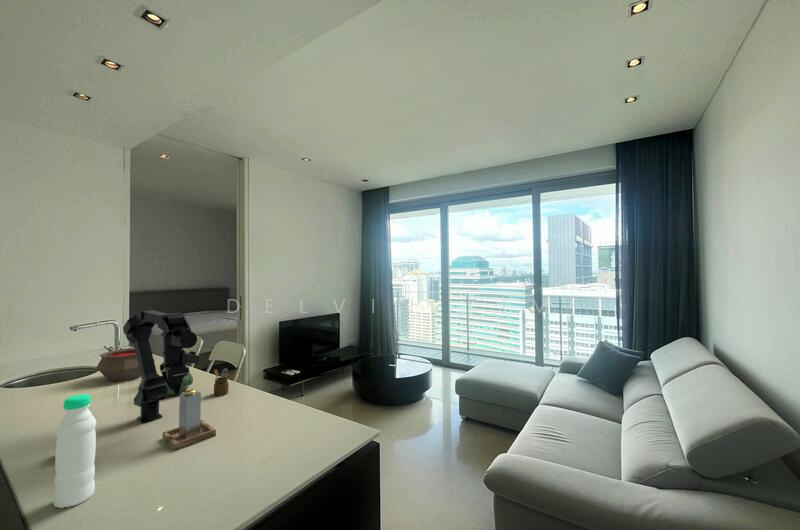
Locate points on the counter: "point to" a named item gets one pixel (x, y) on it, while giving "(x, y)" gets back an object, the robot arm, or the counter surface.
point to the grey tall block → (189, 414)
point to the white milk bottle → (75, 453)
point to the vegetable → (182, 384)
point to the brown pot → (119, 365)
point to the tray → (179, 442)
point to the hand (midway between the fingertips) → (174, 391)
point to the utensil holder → (220, 385)
